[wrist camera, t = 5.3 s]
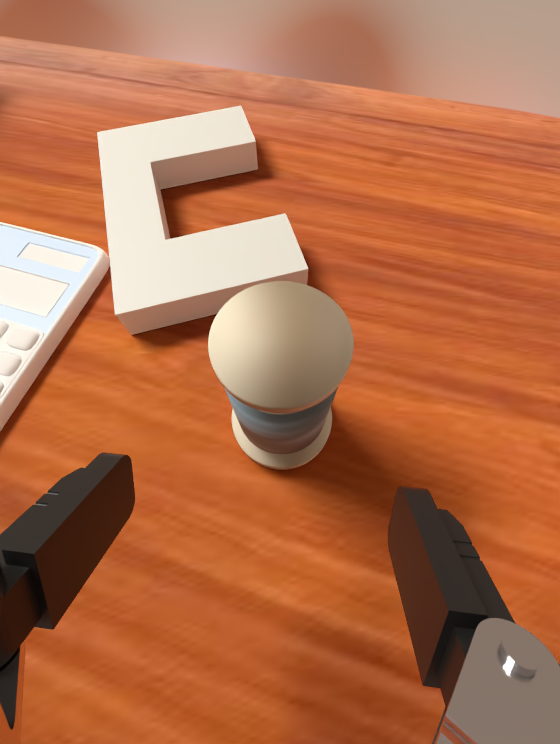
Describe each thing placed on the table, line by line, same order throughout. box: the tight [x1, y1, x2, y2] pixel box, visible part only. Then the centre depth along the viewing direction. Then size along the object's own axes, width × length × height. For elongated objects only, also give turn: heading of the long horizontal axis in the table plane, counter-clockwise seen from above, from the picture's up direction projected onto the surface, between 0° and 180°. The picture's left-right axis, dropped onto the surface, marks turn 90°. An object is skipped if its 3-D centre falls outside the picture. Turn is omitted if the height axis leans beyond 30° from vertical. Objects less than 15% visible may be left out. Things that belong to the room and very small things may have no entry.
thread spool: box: [208, 281, 354, 470], centre depth 17 cm, size 6×6×10 cm
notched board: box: [97, 106, 308, 335], centre depth 28 cm, size 13×20×2 cm, turn 16°
